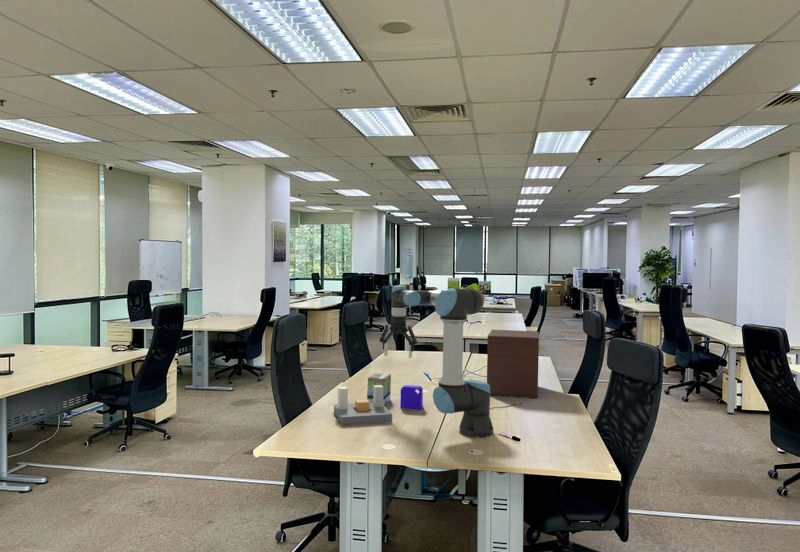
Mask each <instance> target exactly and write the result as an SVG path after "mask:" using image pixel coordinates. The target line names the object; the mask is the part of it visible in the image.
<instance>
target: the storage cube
mask: <svg viewBox="0 0 800 552" xmlns="http://www.w3.org/2000/svg"><path fill="white" fill-rule="evenodd" d="M539 335H540V333H539V331H536V330H535V331H532V330H531V331H530V330H512V329H511V330H510V329H509V330H508V329H491V330H490V332H489V333H488V335H487V352H486V353H487V355H486V357H487V360H486V383H488V384H489V385H490V396H496V397H507V396H512V397H513V396H514V397H513V398H521V397H529V398H528V399H535V398H539V358H540V357H539V355H540V354H539V353H540V352H539V351H540V350H539V348H540V347H539V346H540V341H539V340H540V336H539ZM512 397H511V398H512Z"/></svg>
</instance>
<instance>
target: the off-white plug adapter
mask: <svg viewBox="0 0 800 552" xmlns="http://www.w3.org/2000/svg"><path fill="white" fill-rule="evenodd" d="M348 393H349V388H348V387H347V385H346V386H338V387H337V404H338V408H339V410H340V409H348V404H349V403H348V402H349V401H348V397H349V396H348V395H349V394H348Z"/></svg>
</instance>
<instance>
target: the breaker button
mask: <svg viewBox="0 0 800 552" xmlns="http://www.w3.org/2000/svg"><path fill="white" fill-rule="evenodd" d="M354 403H355V411H356V412H358V411H370V402H369V401H368V400H367V398H363V399H355V400H354Z"/></svg>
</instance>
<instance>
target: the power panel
mask: <svg viewBox="0 0 800 552" xmlns="http://www.w3.org/2000/svg"><path fill="white" fill-rule="evenodd" d="M333 413H334V415H335V416H336V418H337V420H338V422H339V423H340V425H341V426H342V427H344V426H358V425H359V426H360V425H361V426H362V425H376V424H375V423H377V424H387V423H386V422H392V423H393V413H392V412H391V411H390V410H389V409H388V408H387V407H386V406H385V405H383V407H376V408H375V406H374V405H373V402H370V411H358V412H356V411H355V402H352V403H350V402H349V403H348V409H340V410H339V408H338V403H336V404H335V403H334V404H333Z"/></svg>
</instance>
